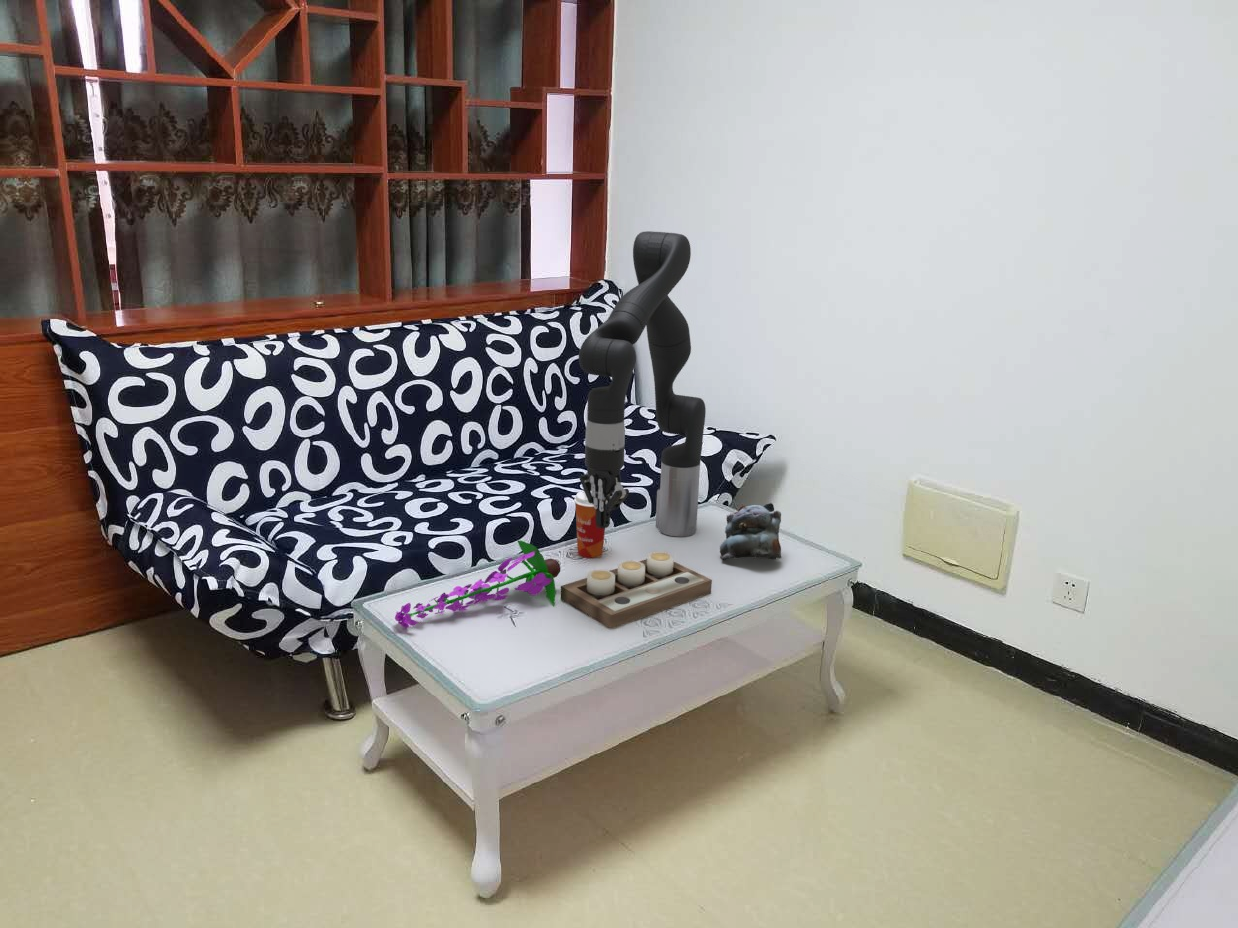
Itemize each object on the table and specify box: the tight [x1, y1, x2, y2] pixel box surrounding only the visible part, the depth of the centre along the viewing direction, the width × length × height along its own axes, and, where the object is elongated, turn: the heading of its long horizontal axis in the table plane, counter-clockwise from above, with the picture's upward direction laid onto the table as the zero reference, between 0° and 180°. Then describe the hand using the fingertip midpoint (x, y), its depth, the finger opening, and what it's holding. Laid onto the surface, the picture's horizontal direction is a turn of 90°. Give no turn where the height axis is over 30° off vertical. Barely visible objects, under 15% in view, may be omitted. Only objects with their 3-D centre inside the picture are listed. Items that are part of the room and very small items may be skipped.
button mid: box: [617, 560, 645, 585], centre depth 198 cm, size 6×6×3 cm
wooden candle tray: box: [560, 558, 713, 630], centre depth 198 cm, size 16×27×3 cm, turn 130°
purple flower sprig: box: [394, 540, 561, 629], centre depth 189 cm, size 12×16×35 cm
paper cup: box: [573, 490, 606, 559], centre depth 216 cm, size 8×8×14 cm
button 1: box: [586, 569, 615, 595], centre depth 193 cm, size 6×6×3 cm
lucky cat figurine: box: [719, 502, 782, 561], centre depth 218 cm, size 15×12×14 cm
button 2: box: [646, 551, 675, 576], centre depth 203 cm, size 6×6×3 cm
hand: (602, 527), depth 190 cm, fingers closed
